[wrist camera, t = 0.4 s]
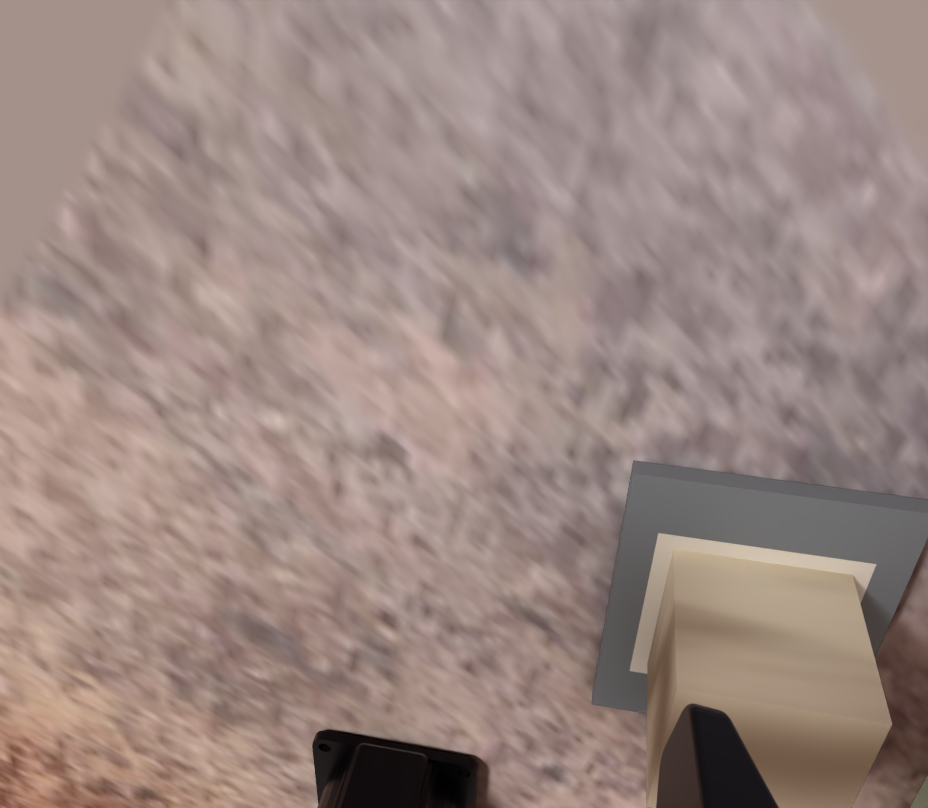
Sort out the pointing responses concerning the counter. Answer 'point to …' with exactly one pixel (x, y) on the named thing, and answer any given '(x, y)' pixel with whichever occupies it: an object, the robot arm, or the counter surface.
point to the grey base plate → (746, 552)
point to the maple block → (770, 673)
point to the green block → (921, 796)
